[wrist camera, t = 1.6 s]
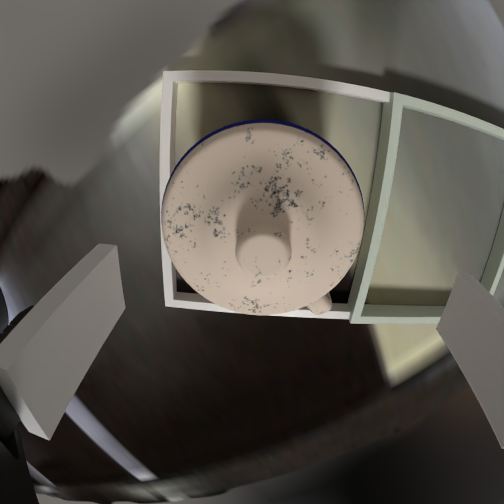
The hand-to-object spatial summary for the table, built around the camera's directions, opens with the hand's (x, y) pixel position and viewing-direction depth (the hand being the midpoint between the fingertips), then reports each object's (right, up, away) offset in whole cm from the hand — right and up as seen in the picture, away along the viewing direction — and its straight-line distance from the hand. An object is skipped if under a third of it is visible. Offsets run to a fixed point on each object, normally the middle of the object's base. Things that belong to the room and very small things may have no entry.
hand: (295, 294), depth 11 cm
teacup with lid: (0, +5, +11) cm, 12 cm away
